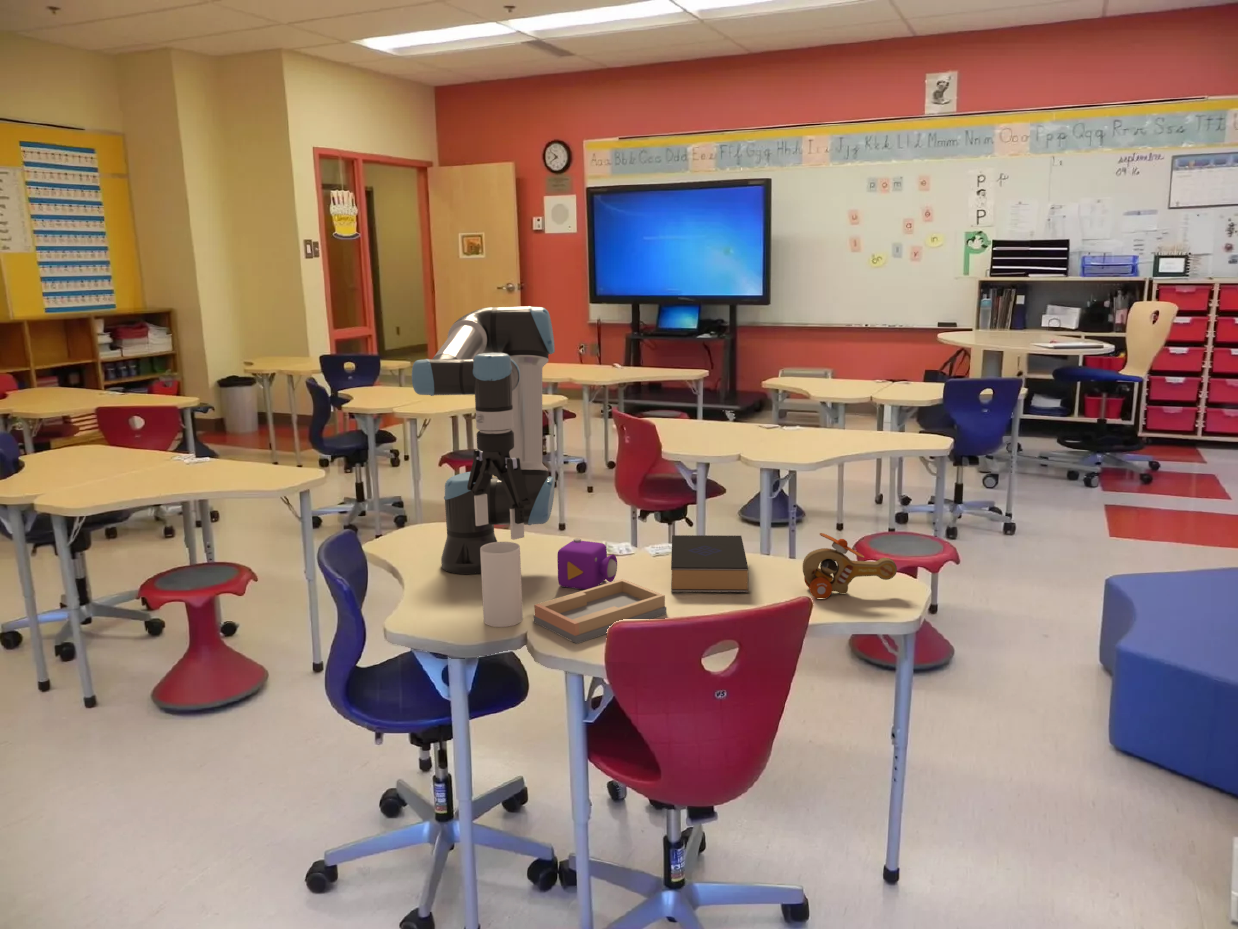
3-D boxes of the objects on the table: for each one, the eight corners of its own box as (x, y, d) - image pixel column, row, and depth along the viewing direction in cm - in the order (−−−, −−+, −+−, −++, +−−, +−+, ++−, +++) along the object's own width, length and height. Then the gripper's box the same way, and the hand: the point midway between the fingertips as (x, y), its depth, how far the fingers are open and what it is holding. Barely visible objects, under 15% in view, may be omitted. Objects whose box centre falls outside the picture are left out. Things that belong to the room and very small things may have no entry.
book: (741, 560, 235) (741, 535, 234) (748, 595, 211) (748, 567, 209) (672, 560, 236) (672, 535, 235) (671, 595, 212) (671, 567, 211)
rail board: (533, 622, 196) (533, 604, 195) (621, 595, 211) (621, 578, 210) (576, 643, 185) (576, 624, 184) (666, 613, 200) (666, 595, 199)
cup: (484, 613, 202) (481, 542, 198) (523, 611, 202) (520, 540, 199) (482, 628, 194) (478, 554, 190) (522, 626, 194) (519, 552, 191)
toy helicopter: (799, 587, 214) (800, 530, 212) (890, 586, 214) (893, 529, 211) (805, 600, 206) (807, 540, 204) (900, 599, 206) (903, 539, 203)
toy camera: (613, 594, 212) (612, 552, 210) (555, 591, 215) (553, 549, 213) (622, 578, 222) (622, 538, 220) (567, 575, 225) (565, 535, 223)
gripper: (447, 424, 196) (453, 522, 201) (513, 440, 177) (517, 548, 182) (478, 420, 201) (483, 516, 205) (545, 435, 182) (549, 540, 187)
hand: (499, 531), depth 194 cm, fingers open, 13 cm apart
